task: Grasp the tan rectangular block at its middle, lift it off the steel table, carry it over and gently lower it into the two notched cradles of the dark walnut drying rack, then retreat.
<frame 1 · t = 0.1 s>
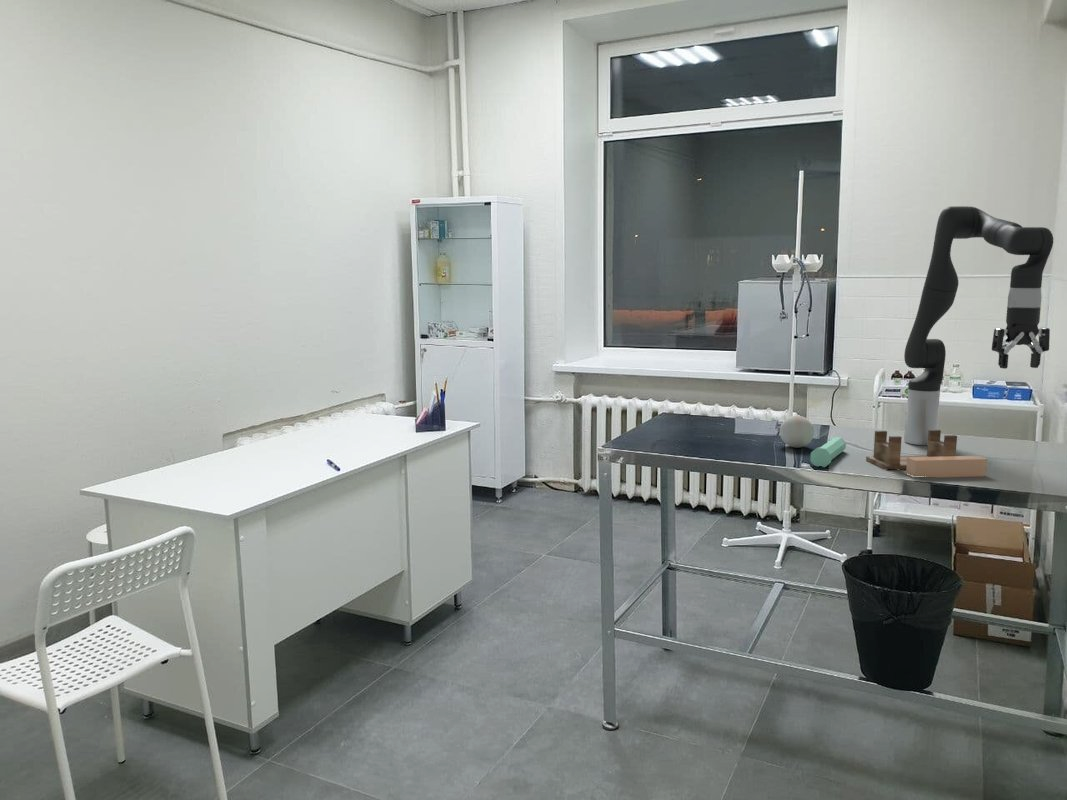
hand: (1018, 367, 219), 29 cm above the table, fingers open, 8 cm apart
tan rectangular block: (945, 476, 225), on the table
rack: (913, 464, 238), on the table
grey ball: (796, 447, 262), on the table
mint green octagonal prism: (830, 459, 246), on the table
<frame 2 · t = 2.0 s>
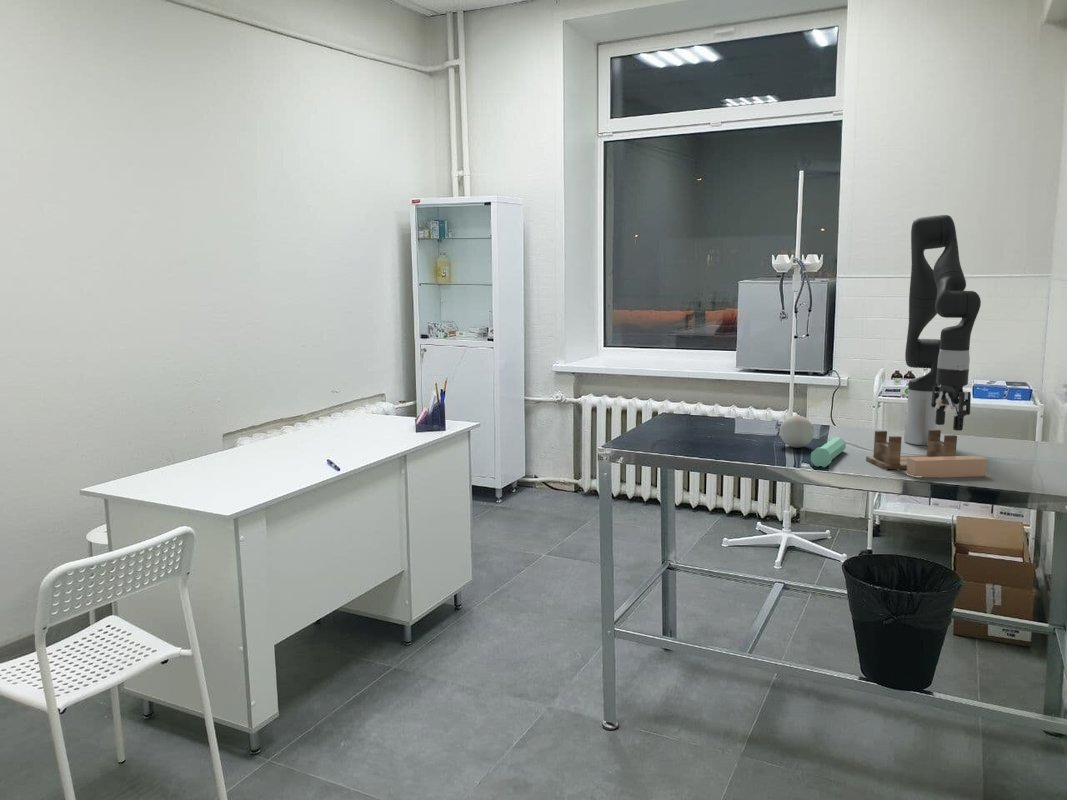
hand: (948, 427, 223), 13 cm above the table, fingers open, 8 cm apart
nothing on the table moved.
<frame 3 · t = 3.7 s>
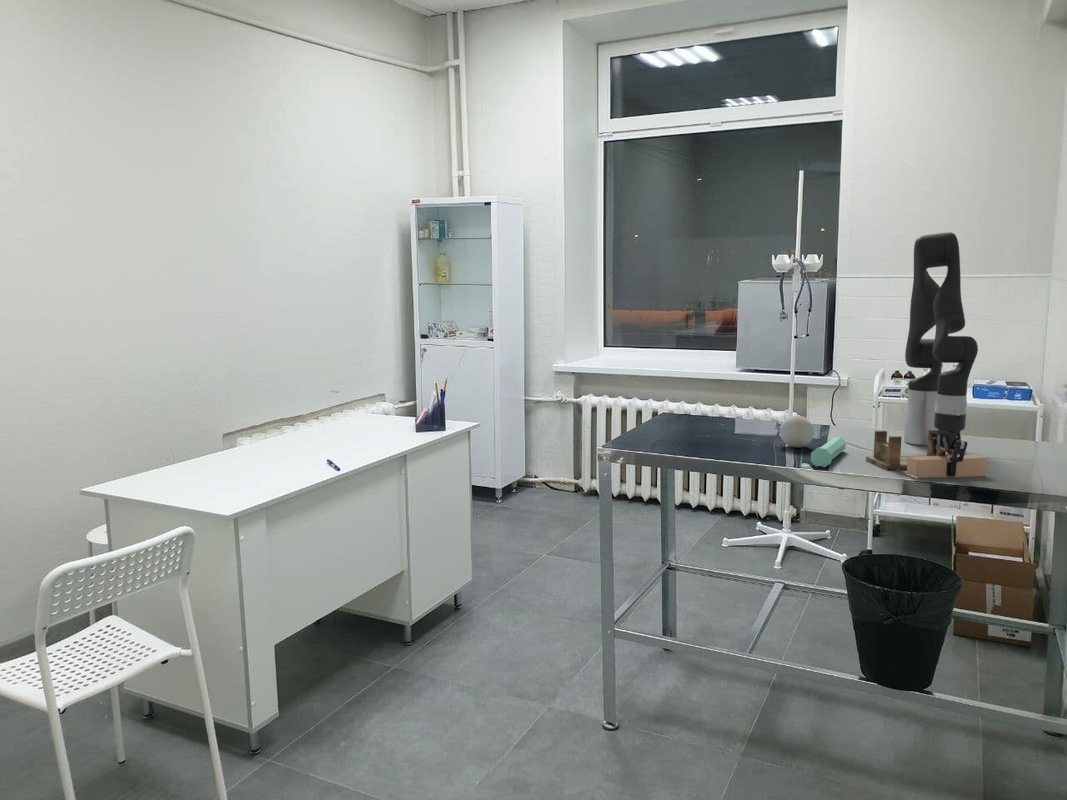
hand: (945, 473, 225), 0 cm above the table, fingers closed on tan rectangular block, 4 cm apart
tan rectangular block: (945, 475, 225), on the table, touching gripper
everything else where it was.
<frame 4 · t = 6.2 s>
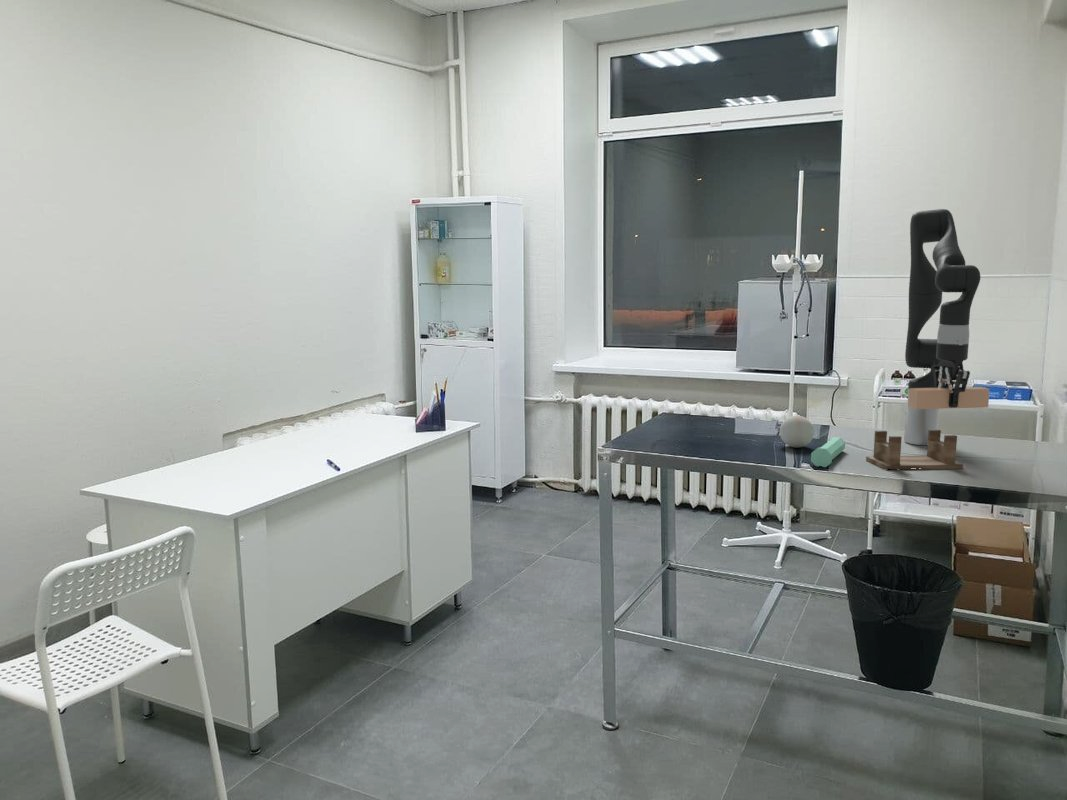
hand: (948, 405, 224), 19 cm above the table, fingers closed on tan rectangular block, 4 cm apart
tan rectangular block: (948, 407, 224), point 18 cm above the table, touching gripper
everything else where it was.
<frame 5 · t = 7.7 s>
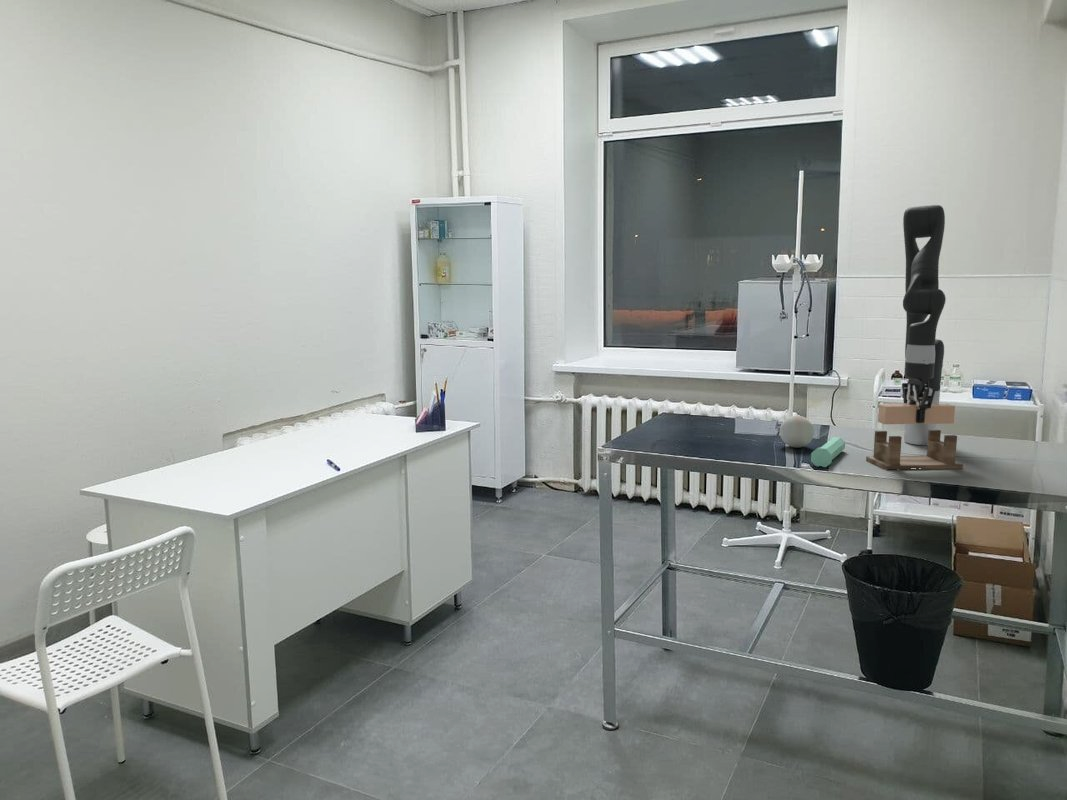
hand: (915, 421, 236), 12 cm above the table, fingers closed on tan rectangular block, 4 cm apart
tan rectangular block: (915, 422, 236), point 12 cm above the table, touching gripper
everything else where it was.
when the fingers open (8 cm above the table, at t = 9.0 s): tan rectangular block drops 1 cm, resting on rack.
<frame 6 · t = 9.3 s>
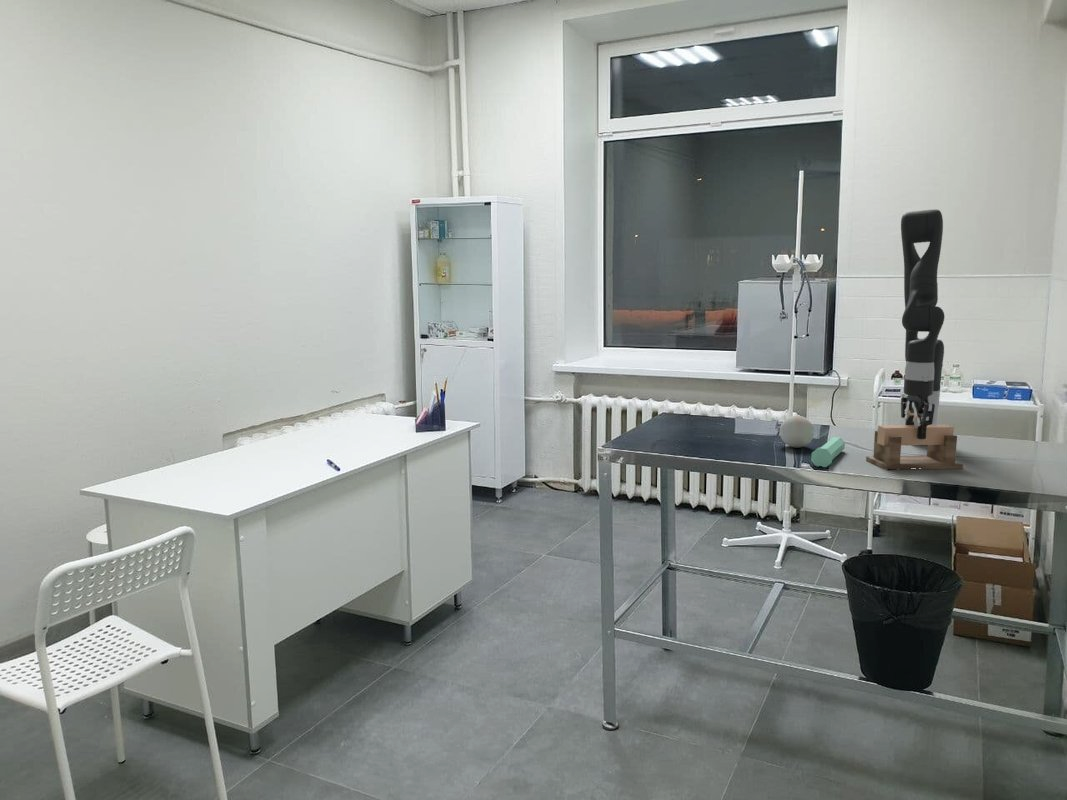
hand: (915, 436, 237), 8 cm above the table, fingers open, 6 cm apart
tan rectangular block: (914, 443, 237), point 6 cm above the table, touching rack
everything else where it was.
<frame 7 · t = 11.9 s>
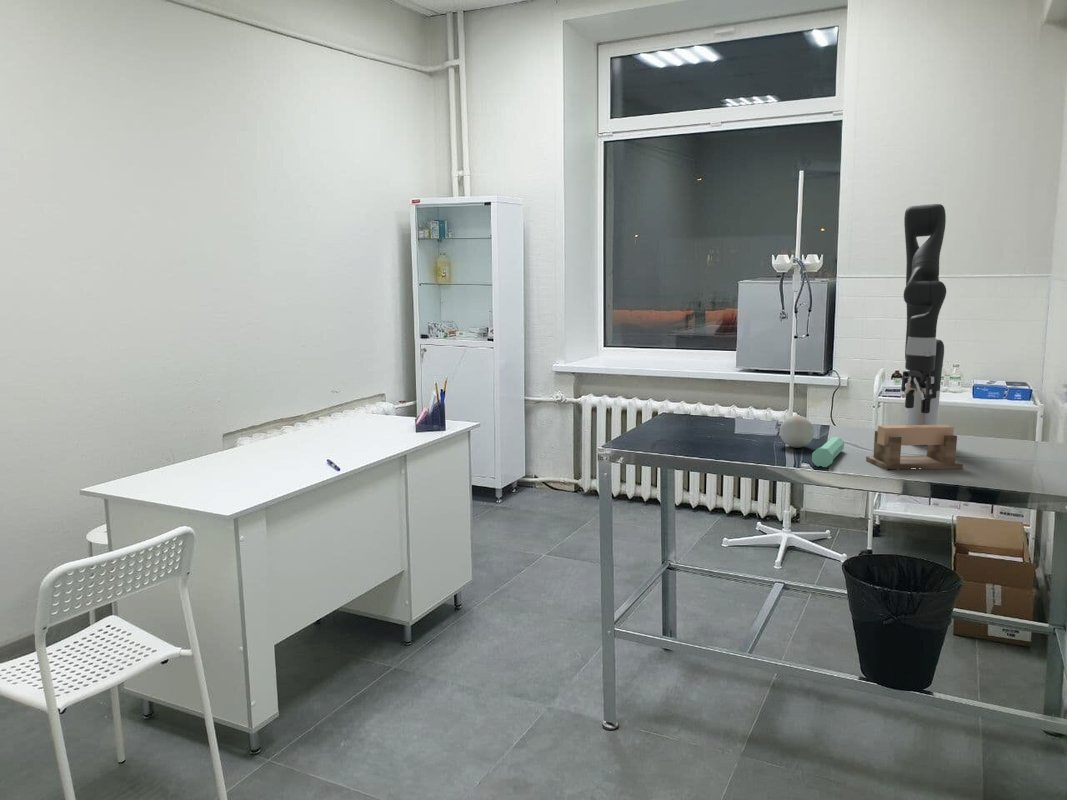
hand: (917, 410, 235), 16 cm above the table, fingers open, 8 cm apart
nothing on the table moved.
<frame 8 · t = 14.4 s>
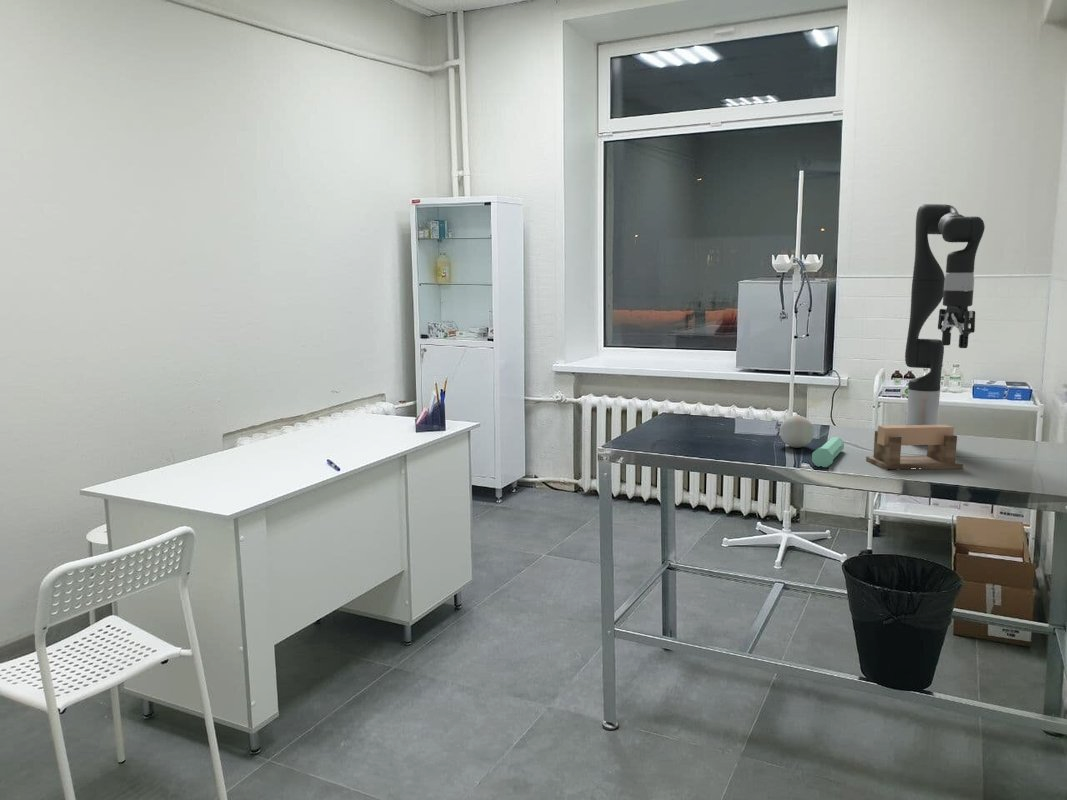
hand: (954, 346, 238), 33 cm above the table, fingers open, 8 cm apart
nothing on the table moved.
at the end: tan rectangular block 0.1 cm off-centre on the rack, point 6.0 cm above the rack's base; tan rectangular block tilted 0°; the gripper is holding nothing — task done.
